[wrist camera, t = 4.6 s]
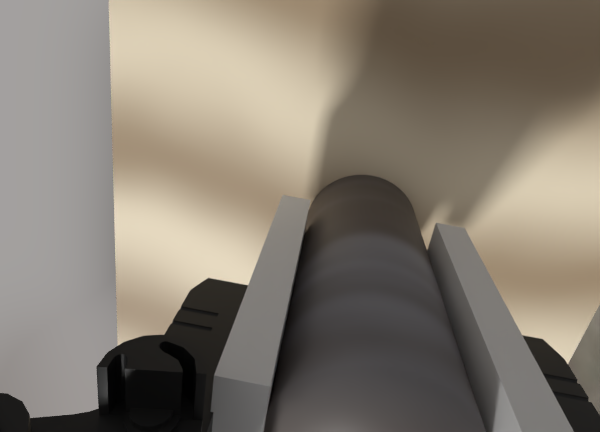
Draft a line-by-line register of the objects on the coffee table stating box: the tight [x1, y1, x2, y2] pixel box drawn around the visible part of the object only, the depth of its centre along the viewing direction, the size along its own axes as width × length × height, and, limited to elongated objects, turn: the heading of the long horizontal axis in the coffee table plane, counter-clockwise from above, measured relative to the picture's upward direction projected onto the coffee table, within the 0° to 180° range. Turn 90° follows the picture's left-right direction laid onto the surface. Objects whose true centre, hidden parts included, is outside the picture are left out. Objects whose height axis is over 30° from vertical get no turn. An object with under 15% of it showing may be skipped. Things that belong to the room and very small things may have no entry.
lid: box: [109, 0, 600, 432], centre depth 12 cm, size 16×16×11 cm
